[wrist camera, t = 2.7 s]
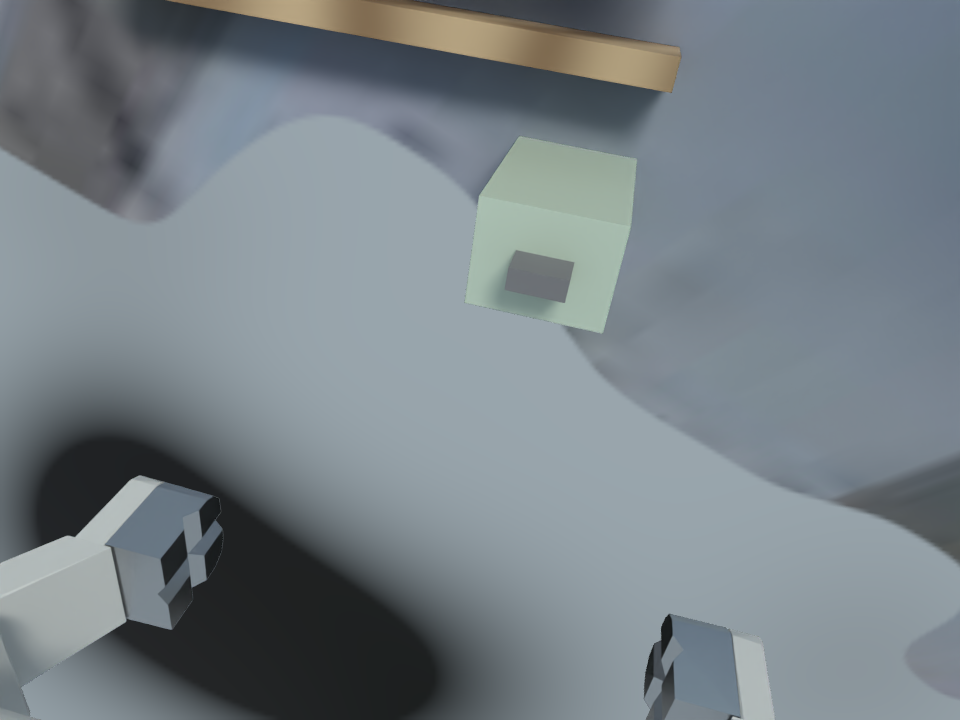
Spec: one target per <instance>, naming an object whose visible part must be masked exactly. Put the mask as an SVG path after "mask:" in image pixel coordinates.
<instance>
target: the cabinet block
mask: <svg viewBox="0 0 960 720" xmlns="http://www.w3.org/2000/svg"><path fill="white" fill-rule="evenodd" d="M636 165H637V159H635V158H629V157H624V156H619V155H614V154H609V153H604V152H599V151H593V150H588V149H583V148H578V147H573V146H568V145H563V144H557V143H552V142H547V141H542V140H537V139H532V138H527V137H521V136H519V137H518V139H517V140H516V142H515V143H514V145H513V146H512V148H511V149H510V151H509V152H508V154H507V155H506V156H505V158H504V159H503V161H502V162H501V164H500V165H499V167H498V168H497V170H496V171H495V173H494V174H493V176H492V177H491V179H490V180H489V182H488V183H487V185H486V186H485V188H484V189H483V191H482V192H481V194H480V195H479V200H478V208H477V215H476V222H475V230H474V238H473V244H472V252H471V259H470V267H469V273H468V281H467V288H466V295H465V303H468V304H472V305H476V306H481V307H485V308H490V309H495V310H499V311H503V312H508V313H512V314H517V315H522V316H526V317H530V318H535V319H539V320H544V321H548V322H553V323H557V324H562V325H566V326H571V327H575V328H580V329H584V330H589V331H593V332H598V333H602V334H603V331H604V327H605V323H606V319H607V316H608V312H609V308H610V304H611V300H612V297H613V293H614V289H615V285H616V282H617V278H618V274H619V270H620V266H621V263H622V259H623V255H624V251H625V248H626V244H627V240H628V236H629V233H630V229H631V222H632V210H633V199H634V188H635V177H636Z"/></svg>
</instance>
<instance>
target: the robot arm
mask: <svg viewBox="0 0 960 720" xmlns="http://www.w3.org/2000/svg"><path fill="white" fill-rule="evenodd" d="M220 513H221V508H220V501H219V498H216V497H214V496H211V495H208V494H204V493H201V492H197V491H194V490H190V489H187V488H184V487H180V486H176V485H173V484H170V483H166V482H162V481H158V480H155V479H151V478H147V477H144V476H138V477H135V478H133V479H131V480H130V481H129V482H128V483H127V484H126V485H125V486H124V487H123V488H122V489H121V490H120V491H119V492H118V493H117V494H116V496H114V497H113V498H112V499H111V501H110V502H109V503H108V504H107V505H106V506H105V507H104V508H103V509H102V510H101V511H100V512H99V513H98V514H97V515H96V516H95V517H94V518H93V519H92V520H91V521H90V522H89V523H88V524H87V525H86V526H85V527H84V528H83V530H82V531H81V532H80V533H79V534H78V535H77V536H76V537H71V536H65V537H63V538H60V539H58V540H55V541H53V542H50V543H48V544H46V545H43V546H41V547H38V548H36V549H34V550H31V551H29V552H26V553H24V554H21V555H19V556H17V557H14V558H12V559H9V560H7V561H4V562H2V563H0V720H39V719H36V718H33V717H30V710H29V707H28V705H27V702H26V699H25V697H24V694H23V691H22V689H21V687H22V686H24V685H25V684H27V683H29V682H30V681H32V680H33V679H35V678H37V677H38V676H40V675H42V674H43V673H44V672H46V671H48V670H50V669H51V668H53V667H54V666H56V665H58V664H59V663H61V662H62V661H64V660H65V659H67V658H69V657H70V656H72V655H73V654H75V653H77V652H78V651H80V650H81V649H83V648H85V647H86V646H88V645H89V644H91V643H92V642H94V641H95V640H97V639H99V638H100V637H102V636H104V635H105V634H107V633H109V632H110V631H112V630H113V629H115V628H117V627H118V626H120V625H121V624H123V623H124V622H126V619H130V620H135V621H139V622H142V623H146V624H150V625H155V626H158V627H163V628H166V629H171V630H172V629H173V628H174V626H175V625H176V623H177V622H178V620H179V619H180V618H181V616H182V615H183V613H184V611H185V610H186V609H187V607H188V606H189V605H190V603H191V602H192V600H193V595H192V587H194V586H196V585H198V584H199V583H201V582H204V581H205V580H207V579H208V577H209V576H210V574H211V573H212V571H213V570H214V568H215V566H216V564H217V561H218V559H219V556H220V554H221V551H222V545H223V529H222V528H221V527H220V525H219V524H218V523H217V522H216V518H217V517H218V515H219V514H220ZM644 700H645V702H646V704H647V705H648V707H649V708H650V711H649V714H648V716H647V718H646V720H775V715H774V709H773V702H772V696H771V690H770V684H769V678H768V672H767V665H766V659H765V653H764V647H763V642H762V641H761V639H760V637H759V636H755V635H751V634H747V633H743V632H739V631H735V630H731V629H727V628H725V627H721V626H717V625H713V624H709V623H705V622H701V621H697V620H693V619H689V618H685V617H681V616H677V615H673V614H668V616H667V617H665V620H664V622H663V624H662V626H661V641H659V642H656V643H654V645H653V648H652V650H651V653H650V655H649V659H648V664H647V669H646V672H645V683H644Z"/></svg>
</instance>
